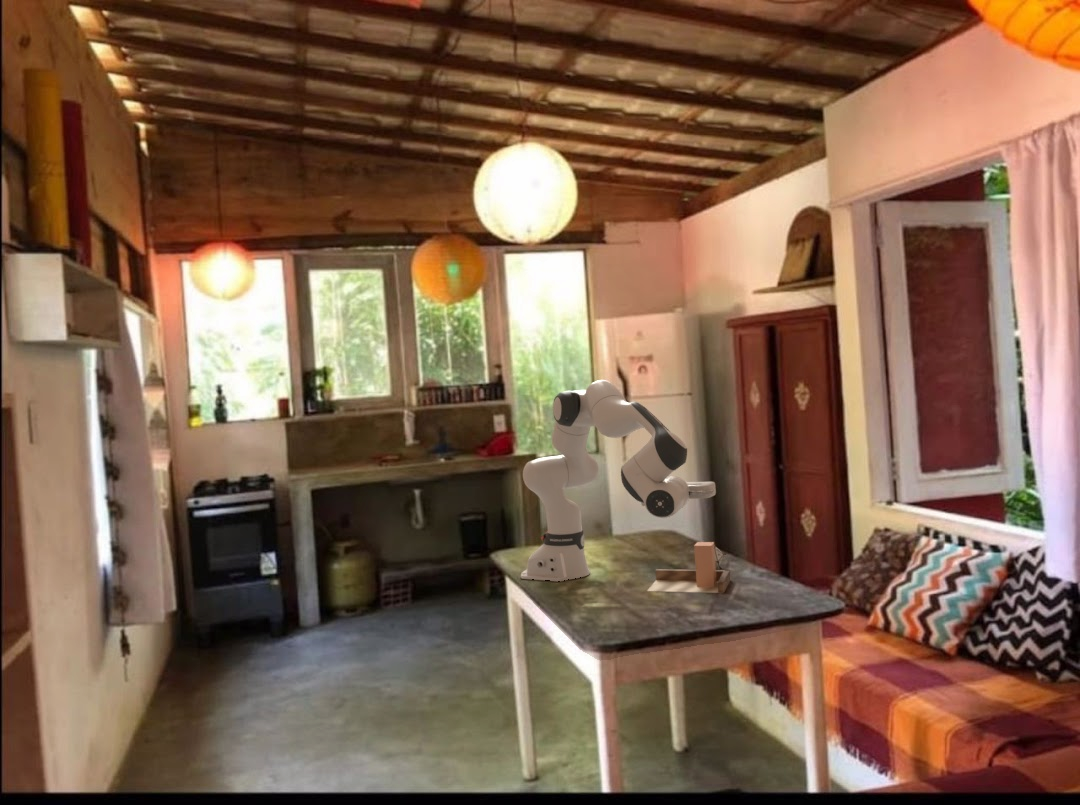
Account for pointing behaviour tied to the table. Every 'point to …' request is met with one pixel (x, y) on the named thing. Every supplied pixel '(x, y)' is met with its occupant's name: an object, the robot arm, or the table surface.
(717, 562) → the game die
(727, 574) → the board
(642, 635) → the table surface
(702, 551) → the terracotta block
